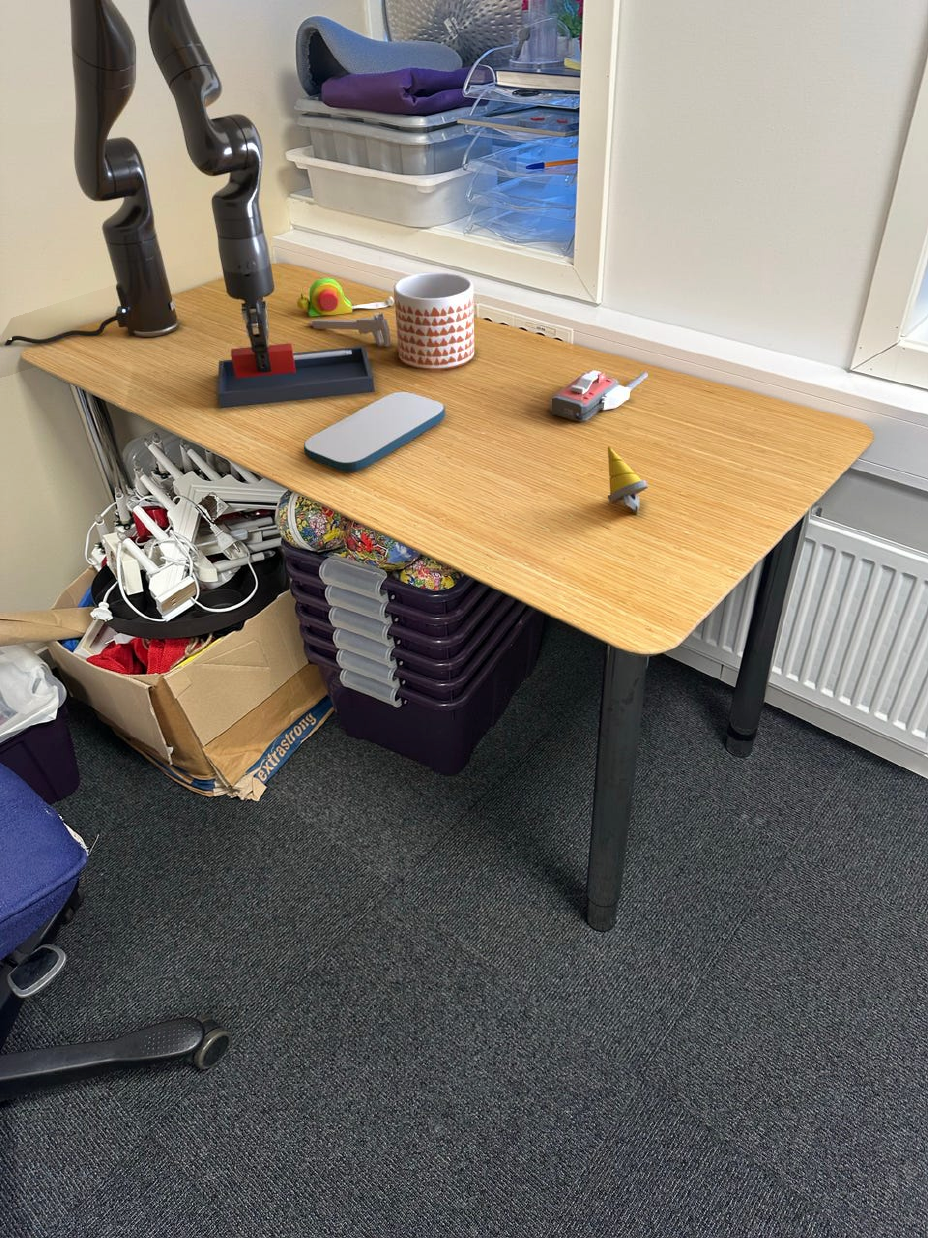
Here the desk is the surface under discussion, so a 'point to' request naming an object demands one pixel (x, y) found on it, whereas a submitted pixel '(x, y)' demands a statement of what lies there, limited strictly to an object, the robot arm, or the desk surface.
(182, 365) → the desk surface
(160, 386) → the desk surface
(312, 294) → the toy measuring tape
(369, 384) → the tray
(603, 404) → the walkie-talkie
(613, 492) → the yellow cone
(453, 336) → the planter
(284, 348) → the screwdriver
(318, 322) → the caliper
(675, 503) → the desk surface
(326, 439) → the external hard drive
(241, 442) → the desk surface
